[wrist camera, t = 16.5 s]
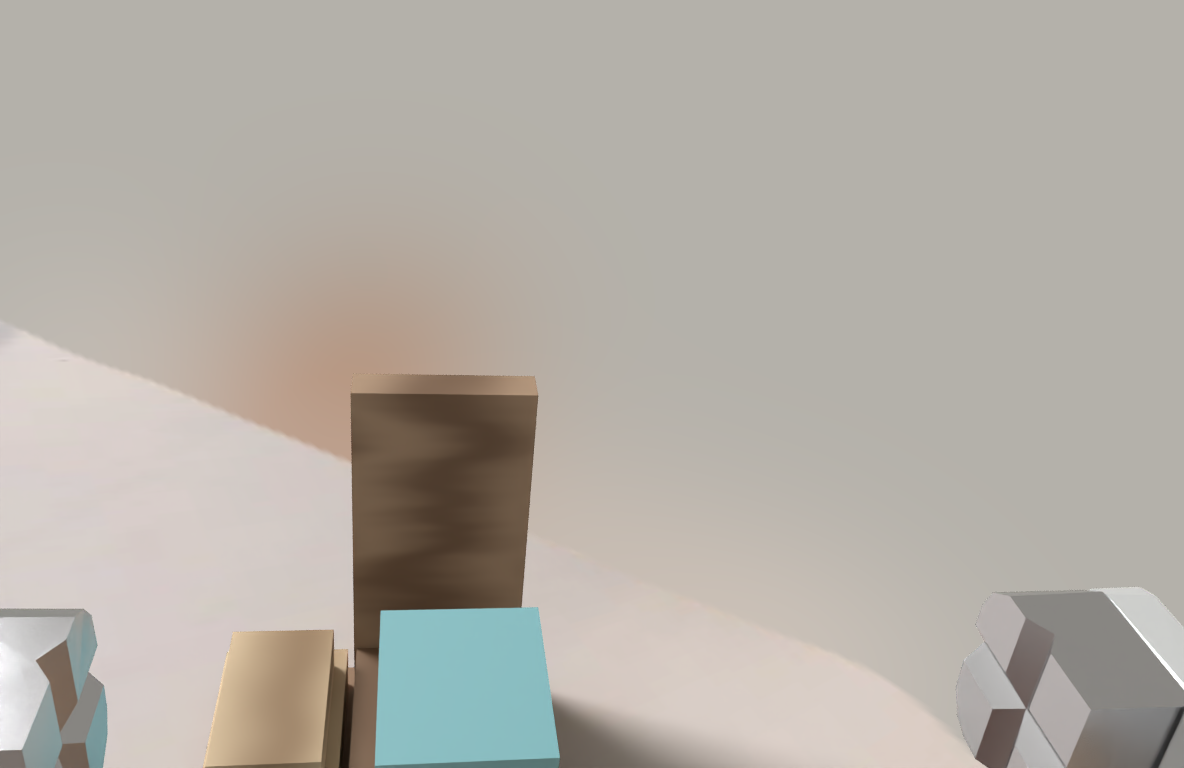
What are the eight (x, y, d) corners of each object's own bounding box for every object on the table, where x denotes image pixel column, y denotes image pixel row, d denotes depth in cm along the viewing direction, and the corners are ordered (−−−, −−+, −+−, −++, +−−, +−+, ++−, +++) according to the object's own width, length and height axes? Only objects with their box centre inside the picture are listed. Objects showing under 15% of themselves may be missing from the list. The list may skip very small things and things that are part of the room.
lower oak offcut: (194, 866, 40) (189, 829, 39) (230, 687, 48) (227, 652, 47) (335, 859, 41) (334, 822, 40) (348, 683, 49) (347, 649, 48)
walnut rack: (186, 909, 40) (140, 553, 32) (230, 687, 50) (202, 371, 42) (532, 888, 42) (567, 549, 34) (511, 679, 52) (534, 376, 44)
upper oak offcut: (209, 805, 40) (205, 766, 39) (236, 668, 46) (233, 631, 46) (322, 800, 41) (321, 761, 40) (334, 666, 47) (333, 629, 46)
